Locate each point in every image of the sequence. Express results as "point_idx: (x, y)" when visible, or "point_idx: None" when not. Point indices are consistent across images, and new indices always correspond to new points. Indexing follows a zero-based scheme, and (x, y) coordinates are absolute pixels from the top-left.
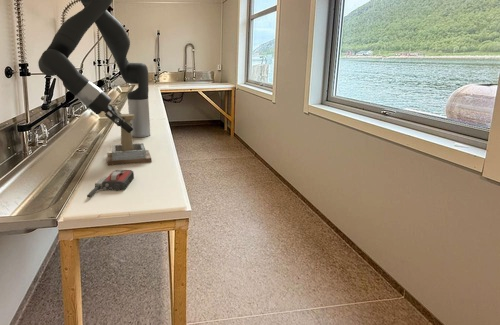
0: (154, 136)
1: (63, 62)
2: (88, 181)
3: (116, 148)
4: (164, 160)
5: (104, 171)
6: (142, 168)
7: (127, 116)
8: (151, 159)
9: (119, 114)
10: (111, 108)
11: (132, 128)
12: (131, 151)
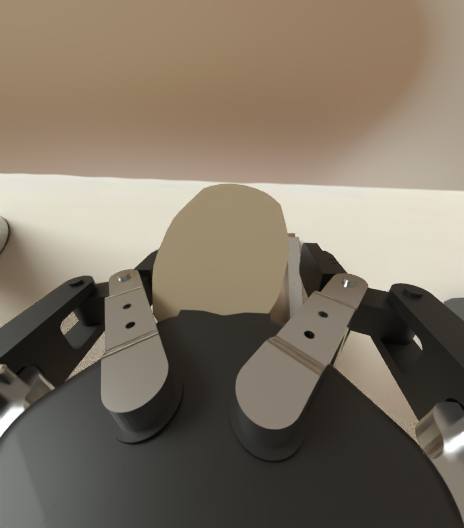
0: (18, 207)
1: None
2: None
3: None
4: (282, 206)
5: (364, 382)
6: (351, 267)
7: (286, 239)
8: (293, 235)
9: (347, 312)
10: (183, 442)
11: (315, 244)
12: (301, 284)
